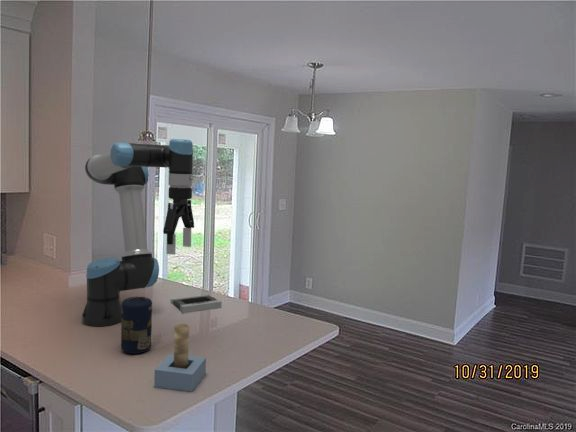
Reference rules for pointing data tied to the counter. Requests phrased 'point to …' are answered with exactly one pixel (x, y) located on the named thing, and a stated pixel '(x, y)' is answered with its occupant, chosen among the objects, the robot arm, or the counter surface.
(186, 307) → the gray rectangular tray
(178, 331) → the dowel
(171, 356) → the socket block
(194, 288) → the counter surface
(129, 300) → the canister
